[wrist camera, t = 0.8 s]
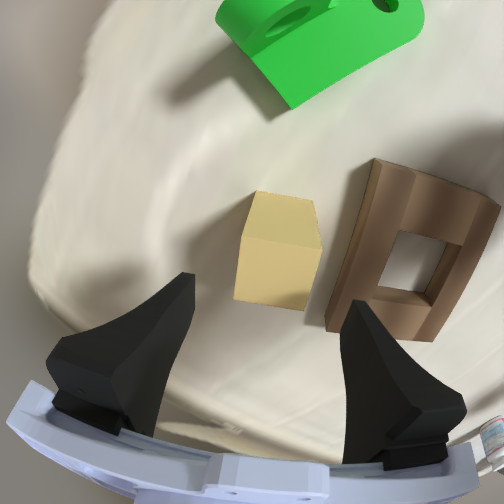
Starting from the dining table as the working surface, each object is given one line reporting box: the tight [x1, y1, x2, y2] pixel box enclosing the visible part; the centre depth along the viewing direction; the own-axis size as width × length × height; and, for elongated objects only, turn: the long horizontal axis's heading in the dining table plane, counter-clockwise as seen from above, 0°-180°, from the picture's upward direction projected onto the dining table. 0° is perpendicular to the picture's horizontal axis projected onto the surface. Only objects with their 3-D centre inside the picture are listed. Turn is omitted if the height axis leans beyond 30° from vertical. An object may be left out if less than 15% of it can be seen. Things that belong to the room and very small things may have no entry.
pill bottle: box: [479, 416, 504, 471], centre depth 32 cm, size 6×6×11 cm
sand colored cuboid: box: [233, 191, 323, 311], centre depth 18 cm, size 4×4×7 cm
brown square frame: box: [325, 158, 501, 342], centre depth 21 cm, size 11×14×2 cm
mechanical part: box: [215, 0, 424, 110], centre depth 11 cm, size 12×6×8 cm, turn 128°
